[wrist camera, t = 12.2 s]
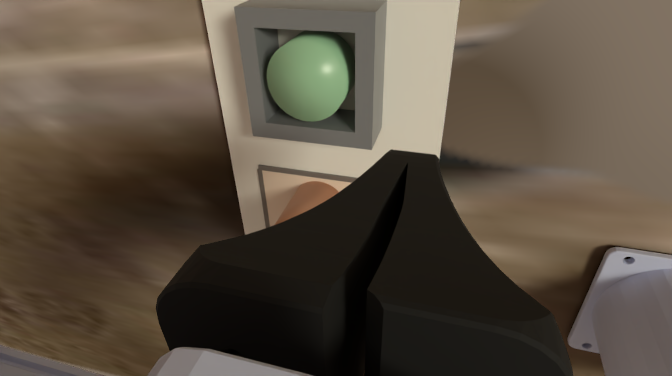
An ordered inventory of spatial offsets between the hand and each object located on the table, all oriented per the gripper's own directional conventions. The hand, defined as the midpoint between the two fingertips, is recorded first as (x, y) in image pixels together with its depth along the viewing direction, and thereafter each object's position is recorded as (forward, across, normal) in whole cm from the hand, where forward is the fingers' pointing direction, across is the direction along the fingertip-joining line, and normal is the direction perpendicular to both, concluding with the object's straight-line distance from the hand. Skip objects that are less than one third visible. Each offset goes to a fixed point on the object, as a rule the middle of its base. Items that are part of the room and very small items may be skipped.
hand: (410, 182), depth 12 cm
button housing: (+9, +6, 0) cm, 11 cm away
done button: (+9, +6, 0) cm, 10 cm away
